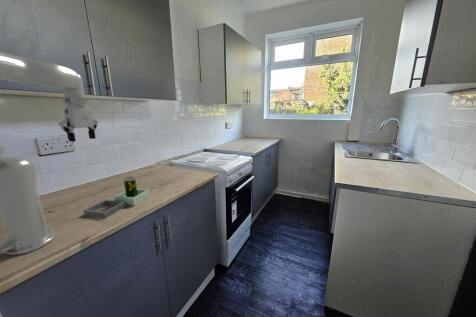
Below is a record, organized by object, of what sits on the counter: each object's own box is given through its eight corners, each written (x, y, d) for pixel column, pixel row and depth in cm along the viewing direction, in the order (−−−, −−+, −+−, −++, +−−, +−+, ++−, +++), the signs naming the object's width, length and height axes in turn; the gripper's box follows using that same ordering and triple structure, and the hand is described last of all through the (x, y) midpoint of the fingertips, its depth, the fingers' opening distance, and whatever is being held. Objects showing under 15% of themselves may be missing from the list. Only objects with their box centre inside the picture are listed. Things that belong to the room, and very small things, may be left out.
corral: (105, 218, 87) (104, 213, 86) (84, 215, 90) (83, 210, 89) (125, 206, 98) (124, 201, 97) (106, 204, 101) (105, 199, 100)
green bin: (134, 205, 98) (133, 198, 97) (115, 203, 101) (114, 196, 100) (149, 196, 109) (148, 189, 108) (132, 194, 112) (131, 188, 111)
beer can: (124, 200, 104) (121, 178, 101) (134, 196, 108) (131, 175, 106) (130, 202, 101) (127, 180, 99) (140, 198, 106) (137, 177, 103)
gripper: (61, 101, 80) (70, 142, 84) (99, 103, 96) (105, 137, 100) (47, 101, 81) (56, 142, 85) (87, 103, 98) (93, 137, 102)
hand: (83, 139), depth 93 cm, fingers open, 9 cm apart
